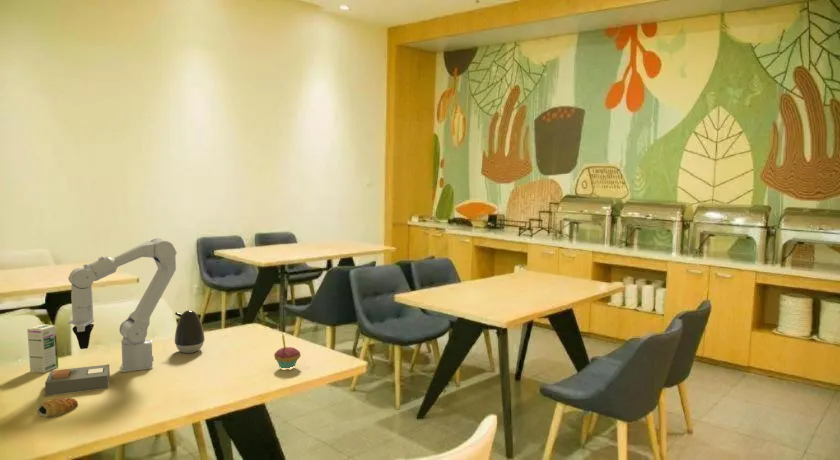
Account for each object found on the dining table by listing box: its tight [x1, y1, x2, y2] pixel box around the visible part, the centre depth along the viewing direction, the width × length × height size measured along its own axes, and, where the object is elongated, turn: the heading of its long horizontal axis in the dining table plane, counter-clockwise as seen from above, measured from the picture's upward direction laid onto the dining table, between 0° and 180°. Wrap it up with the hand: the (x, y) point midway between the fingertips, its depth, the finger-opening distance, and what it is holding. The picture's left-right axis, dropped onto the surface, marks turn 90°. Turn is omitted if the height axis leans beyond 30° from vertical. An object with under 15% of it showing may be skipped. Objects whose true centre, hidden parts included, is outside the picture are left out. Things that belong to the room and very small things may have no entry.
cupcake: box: [273, 332, 301, 368], centre depth 198 cm, size 9×8×12 cm
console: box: [44, 364, 111, 397], centre depth 179 cm, size 16×11×4 cm
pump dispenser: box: [174, 309, 205, 354], centre depth 214 cm, size 10×10×15 cm
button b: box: [53, 368, 71, 378], centre depth 177 cm, size 4×4×4 cm
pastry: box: [36, 397, 79, 419], centre depth 161 cm, size 9×7×4 cm
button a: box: [87, 368, 103, 374], centre depth 181 cm, size 4×4×4 cm
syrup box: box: [26, 323, 59, 374], centre depth 193 cm, size 6×6×14 cm
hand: (84, 348), depth 186 cm, fingers closed
